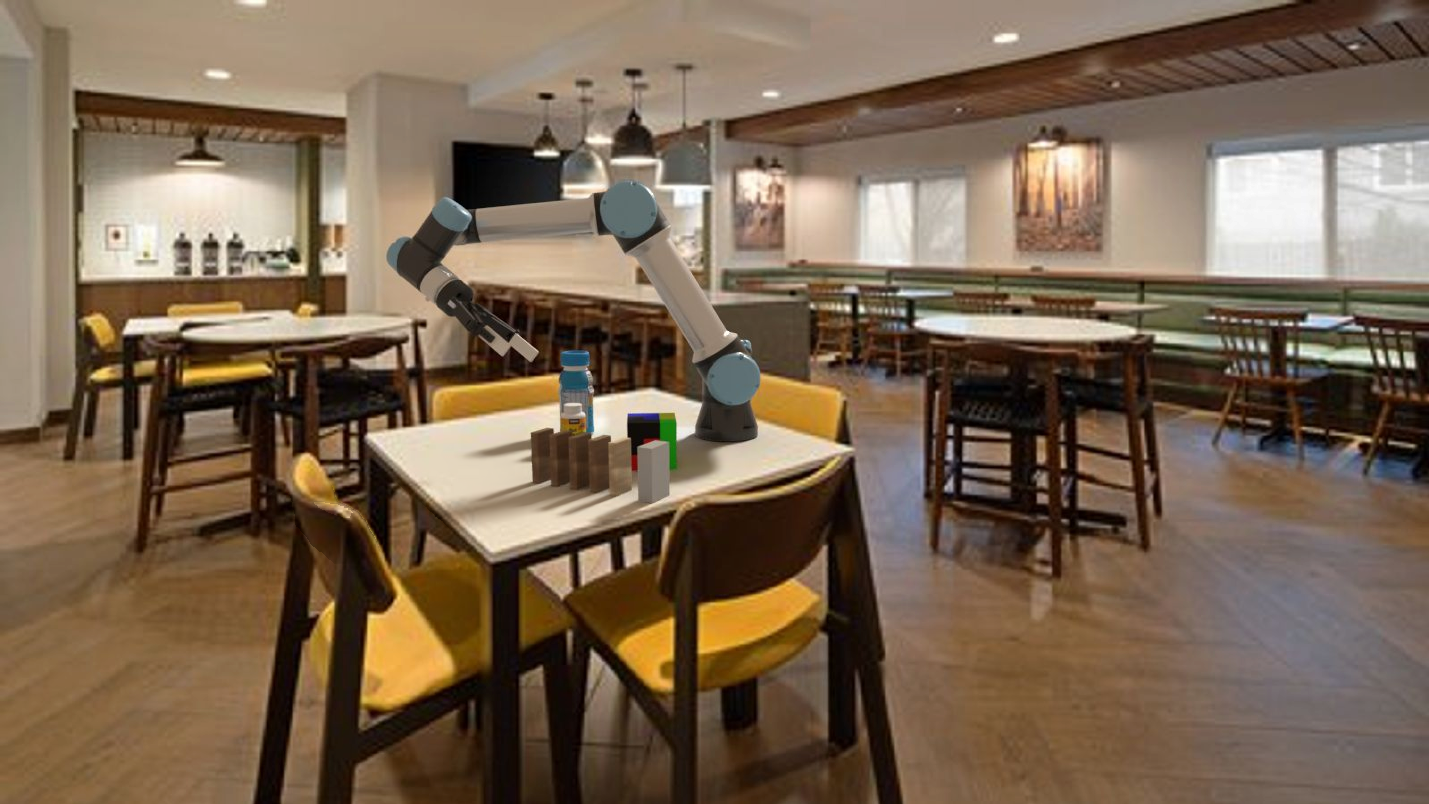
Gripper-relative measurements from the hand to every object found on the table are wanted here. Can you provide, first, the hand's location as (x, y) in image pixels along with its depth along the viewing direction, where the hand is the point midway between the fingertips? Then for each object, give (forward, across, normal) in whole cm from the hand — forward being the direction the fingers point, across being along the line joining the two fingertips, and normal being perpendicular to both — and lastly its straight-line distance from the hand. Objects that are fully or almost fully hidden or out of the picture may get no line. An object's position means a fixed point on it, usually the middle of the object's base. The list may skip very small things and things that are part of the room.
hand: (521, 354), depth 180 cm
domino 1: (+22, +6, -15) cm, 27 cm away
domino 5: (+37, +10, -6) cm, 38 cm away
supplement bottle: (+16, -20, -13) cm, 28 cm away
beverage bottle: (+10, -34, -13) cm, 37 cm away
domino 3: (+29, +8, -10) cm, 32 cm away
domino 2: (+26, +7, -13) cm, 29 cm away
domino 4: (+33, +9, -8) cm, 35 cm away
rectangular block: (+42, +12, -2) cm, 44 cm away
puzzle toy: (+34, -11, -2) cm, 35 cm away
